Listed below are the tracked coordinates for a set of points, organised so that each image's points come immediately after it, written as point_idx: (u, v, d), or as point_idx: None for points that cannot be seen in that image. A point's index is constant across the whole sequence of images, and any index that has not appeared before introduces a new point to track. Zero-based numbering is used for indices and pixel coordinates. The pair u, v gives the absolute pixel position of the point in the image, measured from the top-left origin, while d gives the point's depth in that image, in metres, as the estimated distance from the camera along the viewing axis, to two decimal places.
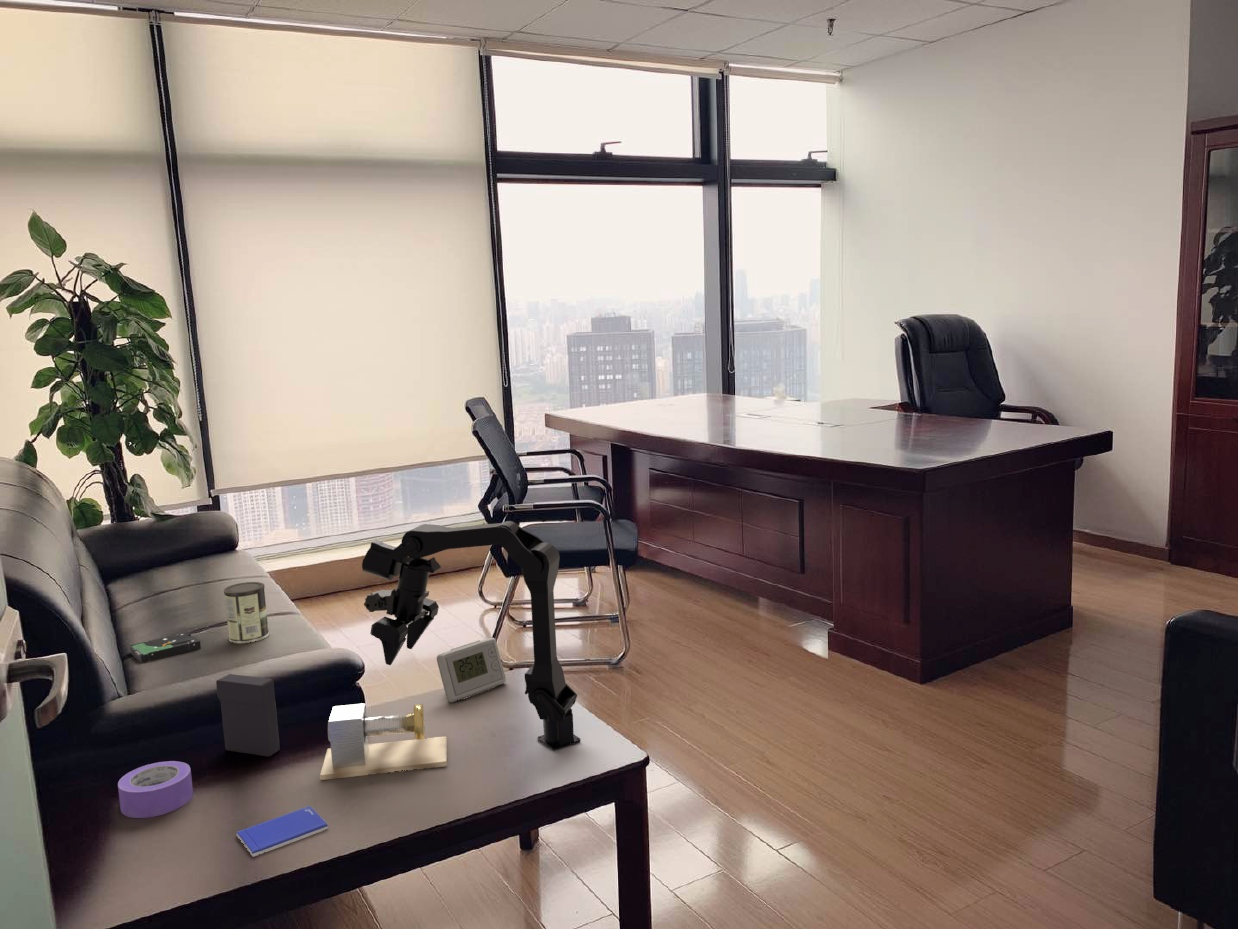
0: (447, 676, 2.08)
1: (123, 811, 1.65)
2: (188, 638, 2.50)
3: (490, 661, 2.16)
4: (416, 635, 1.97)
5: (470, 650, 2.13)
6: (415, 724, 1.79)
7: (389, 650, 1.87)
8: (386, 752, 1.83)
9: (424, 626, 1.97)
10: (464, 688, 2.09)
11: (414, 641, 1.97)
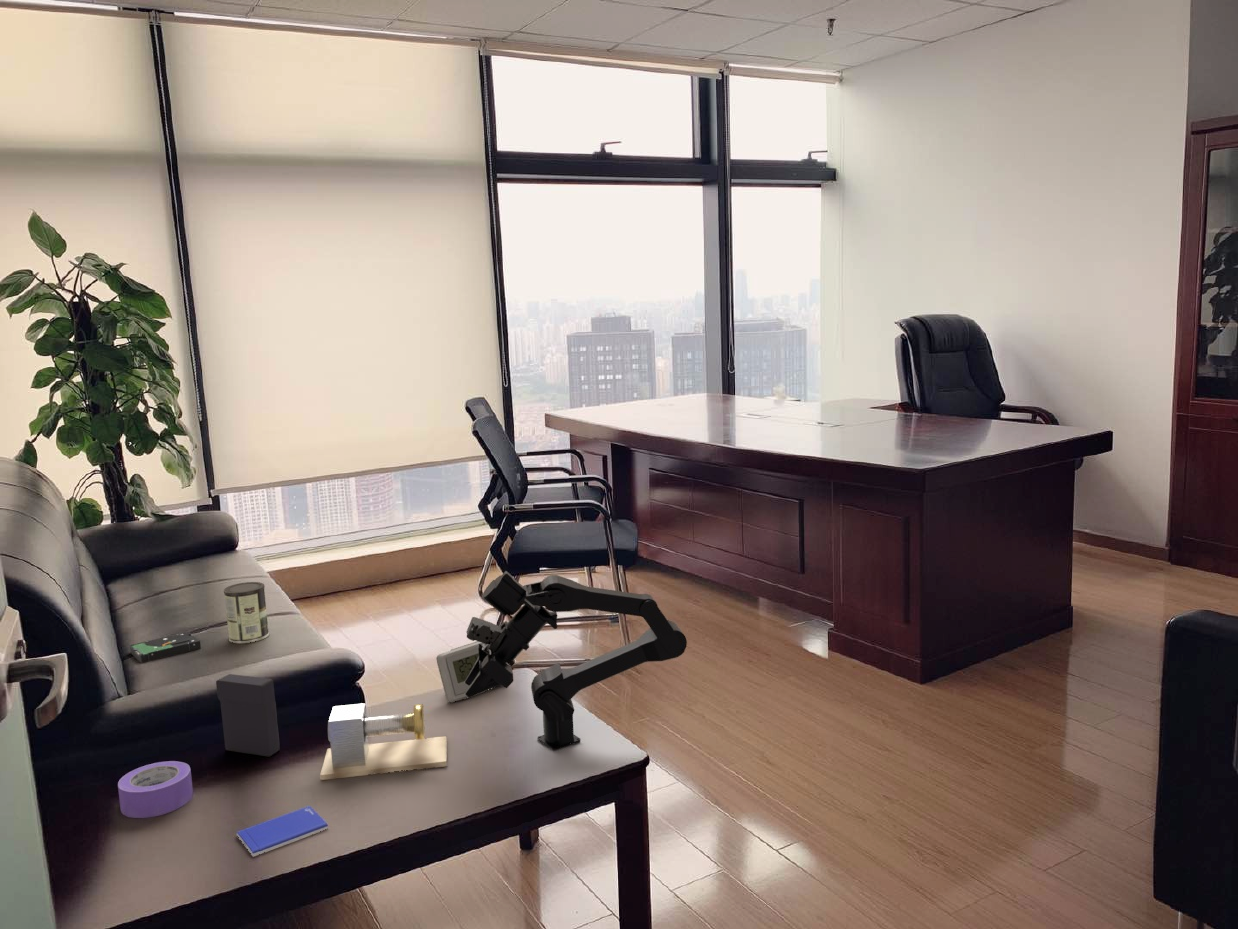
0: (447, 676, 2.08)
1: (123, 811, 1.65)
2: (188, 638, 2.50)
3: None
4: None
5: (470, 650, 2.13)
6: (415, 724, 1.79)
7: (481, 684, 1.79)
8: (386, 752, 1.83)
9: None
10: (464, 688, 2.09)
11: None
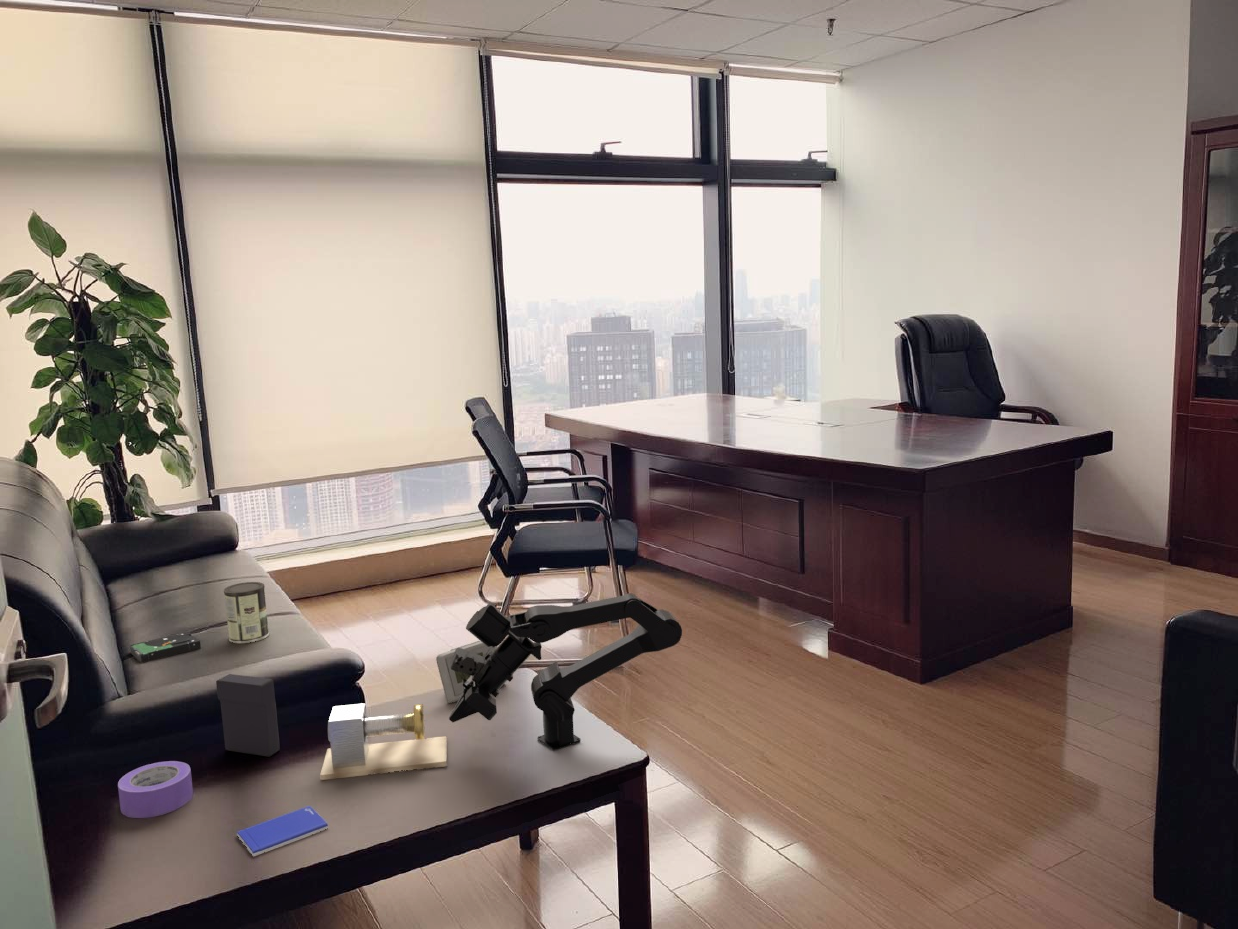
0: (447, 676, 2.07)
1: (123, 811, 1.65)
2: (188, 638, 2.50)
3: None
4: None
5: (470, 650, 2.13)
6: (415, 724, 1.79)
7: (464, 709, 1.82)
8: (386, 752, 1.83)
9: None
10: None
11: None
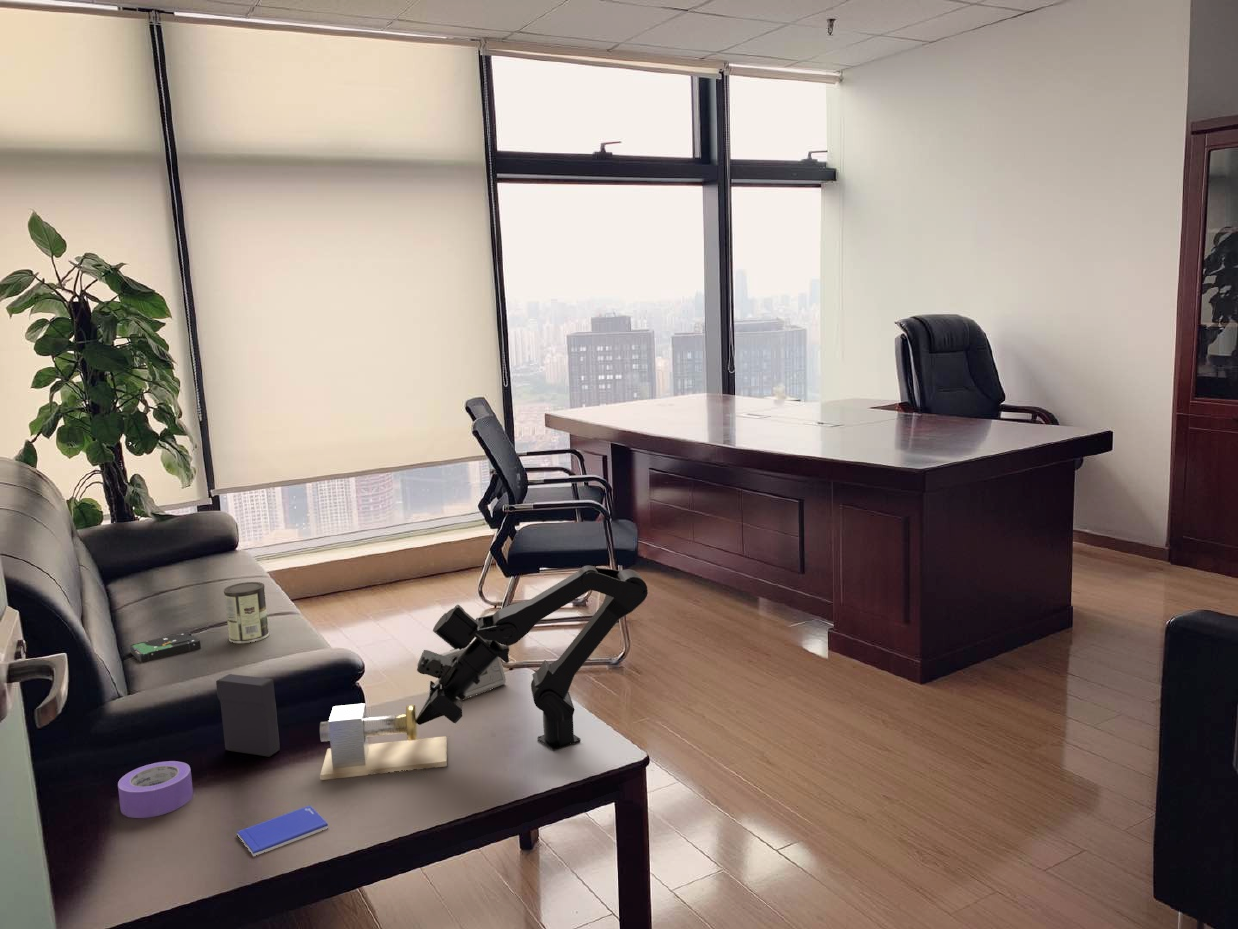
0: None
1: (123, 811, 1.65)
2: (188, 638, 2.50)
3: None
4: None
5: None
6: (407, 725, 1.79)
7: (431, 712, 1.81)
8: (386, 752, 1.83)
9: None
10: None
11: None
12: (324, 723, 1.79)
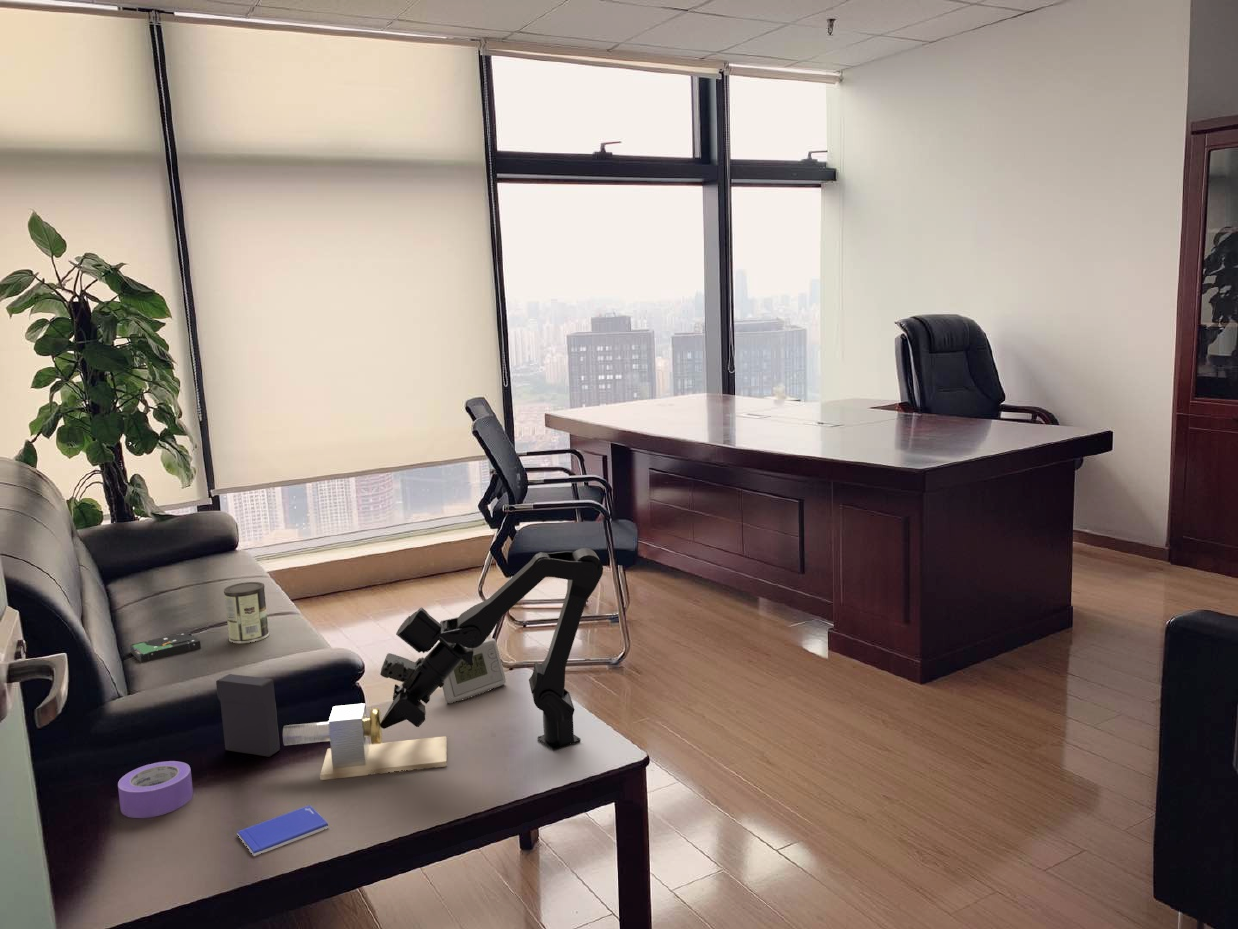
0: None
1: (123, 811, 1.65)
2: (189, 638, 2.50)
3: (490, 662, 2.15)
4: None
5: None
6: (371, 729, 1.78)
7: (395, 716, 1.80)
8: (386, 752, 1.83)
9: None
10: (463, 689, 2.09)
11: None
12: (287, 727, 1.78)
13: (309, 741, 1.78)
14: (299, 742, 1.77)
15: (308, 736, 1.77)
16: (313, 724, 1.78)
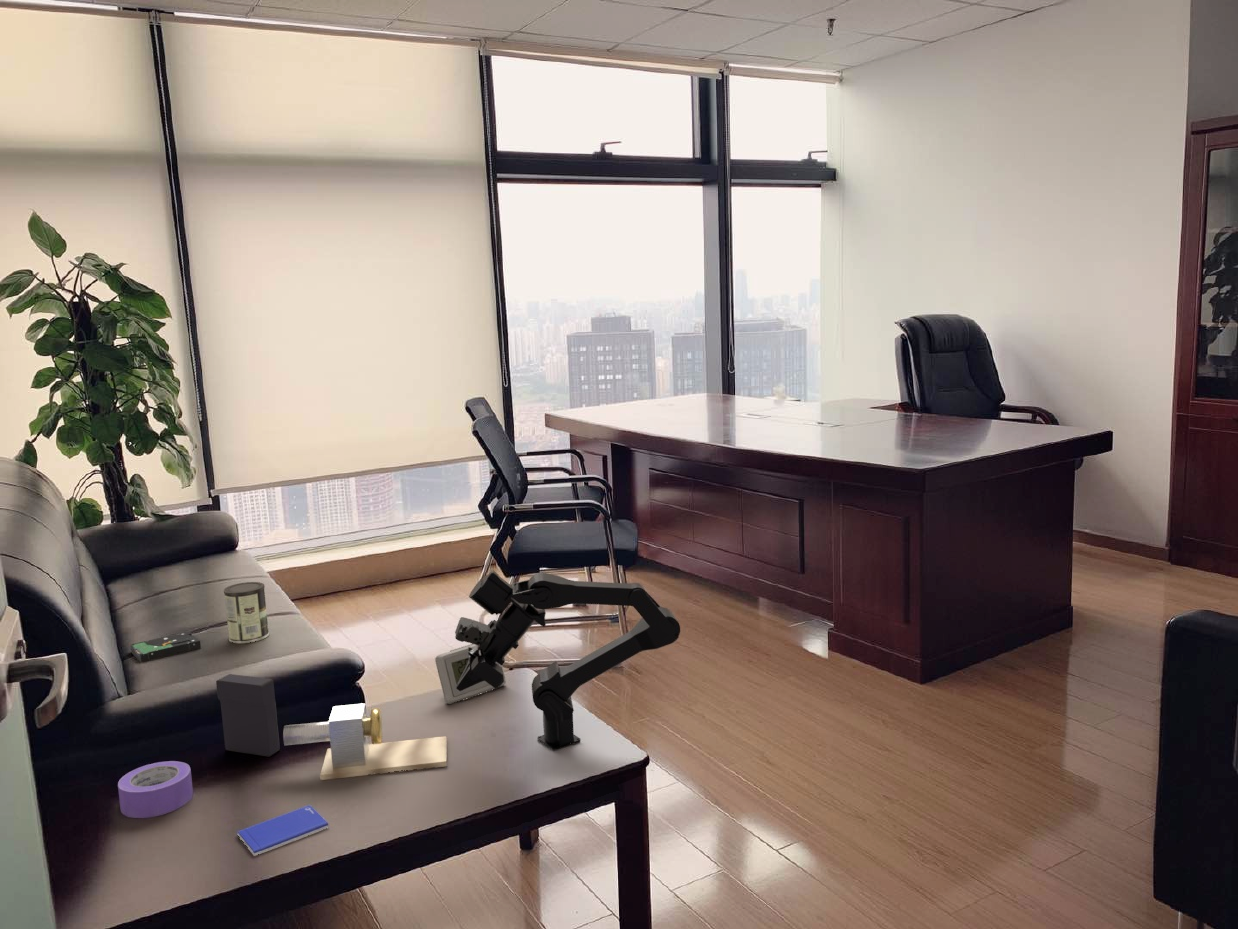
0: (446, 677, 2.07)
1: (123, 811, 1.65)
2: (189, 638, 2.50)
3: None
4: None
5: None
6: (371, 728, 1.78)
7: (471, 678, 1.82)
8: (386, 752, 1.83)
9: None
10: (462, 690, 2.09)
11: None
12: (288, 727, 1.78)
13: (309, 741, 1.78)
14: (299, 742, 1.77)
15: (308, 736, 1.77)
16: (313, 724, 1.78)
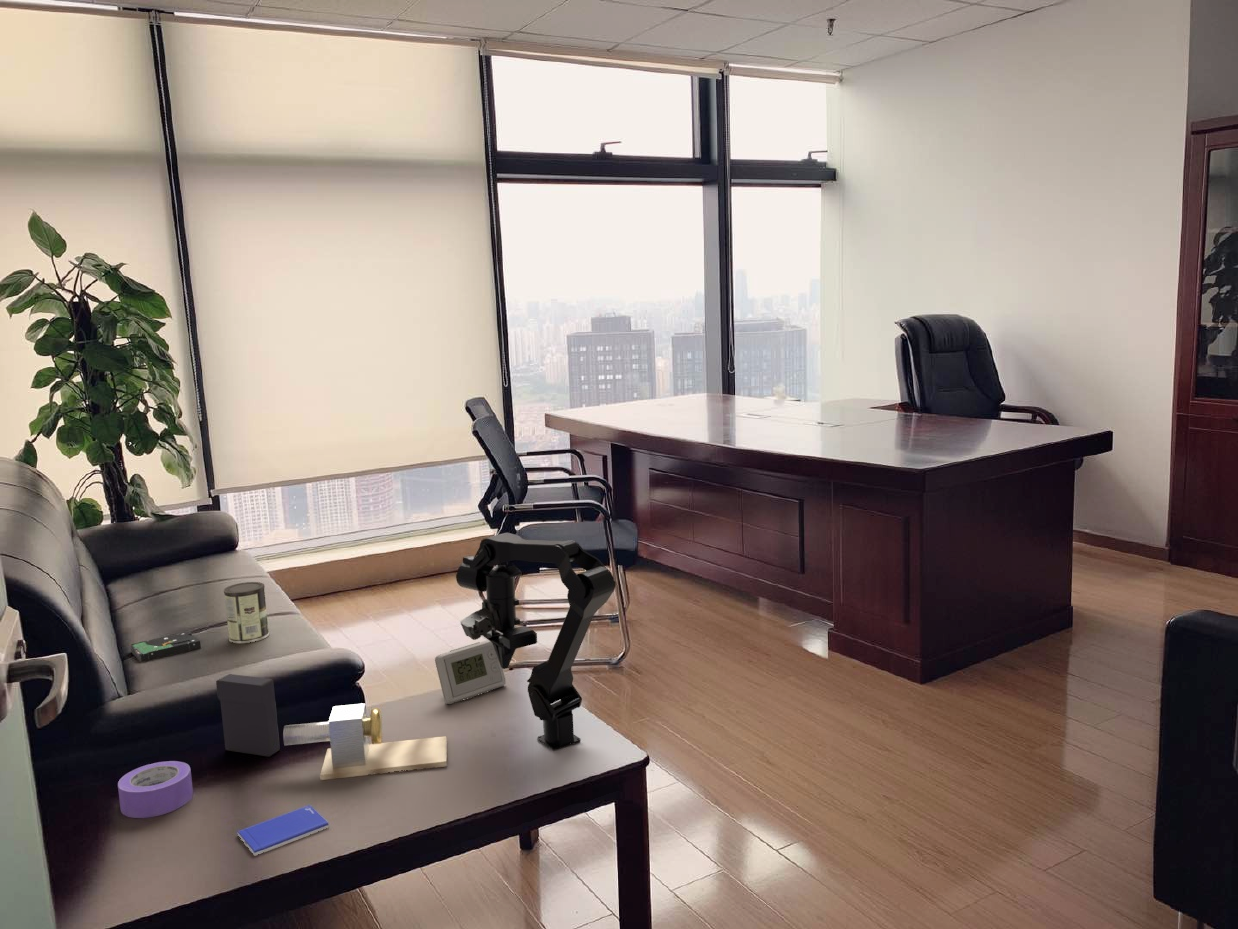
0: (445, 677, 2.07)
1: (123, 811, 1.65)
2: (189, 638, 2.50)
3: (490, 663, 2.14)
4: None
5: (469, 652, 2.12)
6: (371, 728, 1.78)
7: (507, 652, 1.93)
8: (386, 752, 1.83)
9: None
10: (462, 690, 2.08)
11: None
12: (288, 727, 1.78)
13: (309, 741, 1.78)
14: (299, 742, 1.77)
15: (308, 736, 1.77)
16: (313, 724, 1.78)
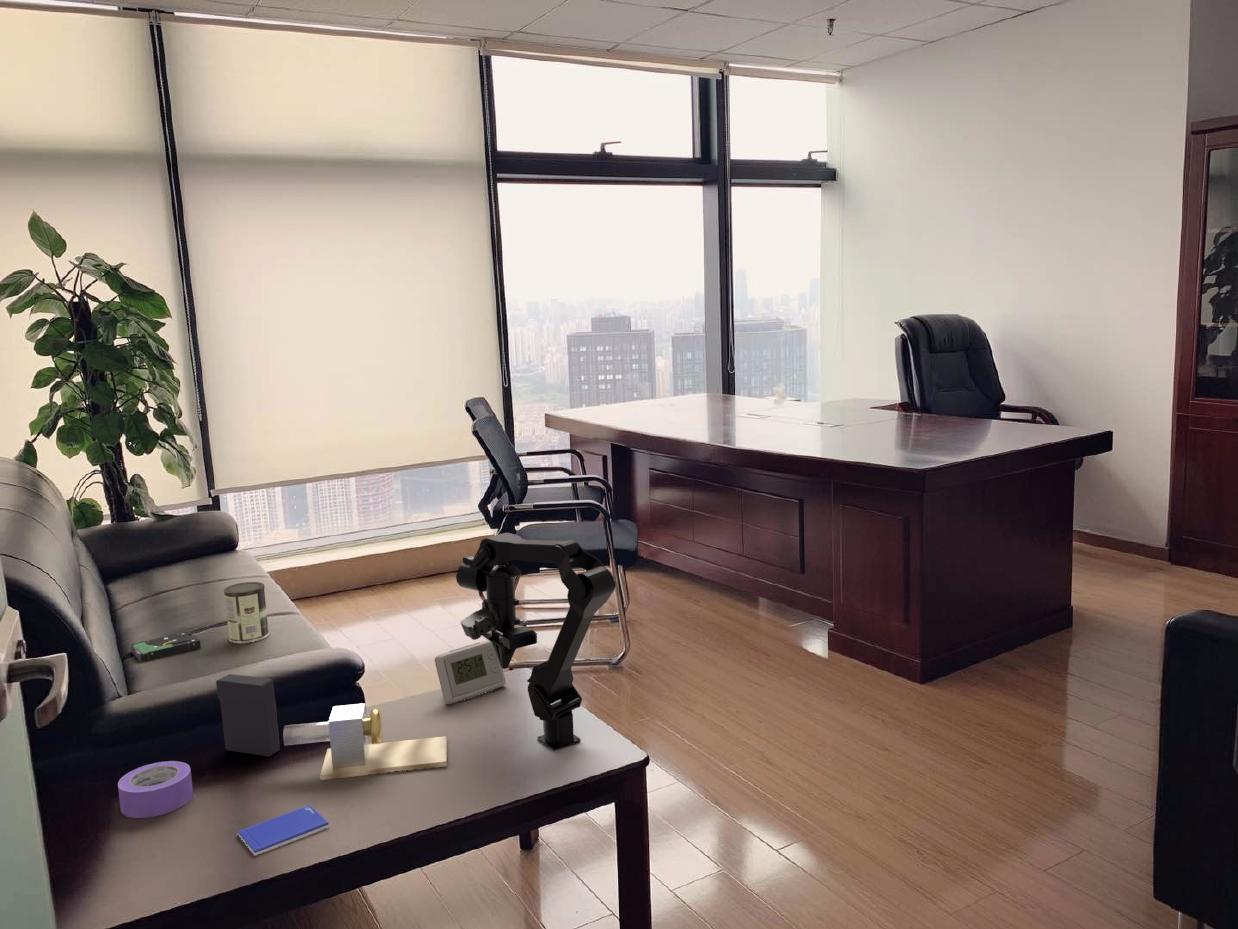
0: (445, 677, 2.07)
1: (123, 811, 1.65)
2: (189, 638, 2.51)
3: (489, 663, 2.14)
4: None
5: (469, 652, 2.12)
6: (371, 728, 1.78)
7: (507, 652, 1.93)
8: (386, 752, 1.83)
9: None
10: (462, 690, 2.08)
11: None
12: (288, 727, 1.78)
13: (309, 741, 1.78)
14: (299, 742, 1.77)
15: (308, 736, 1.77)
16: (313, 724, 1.78)
